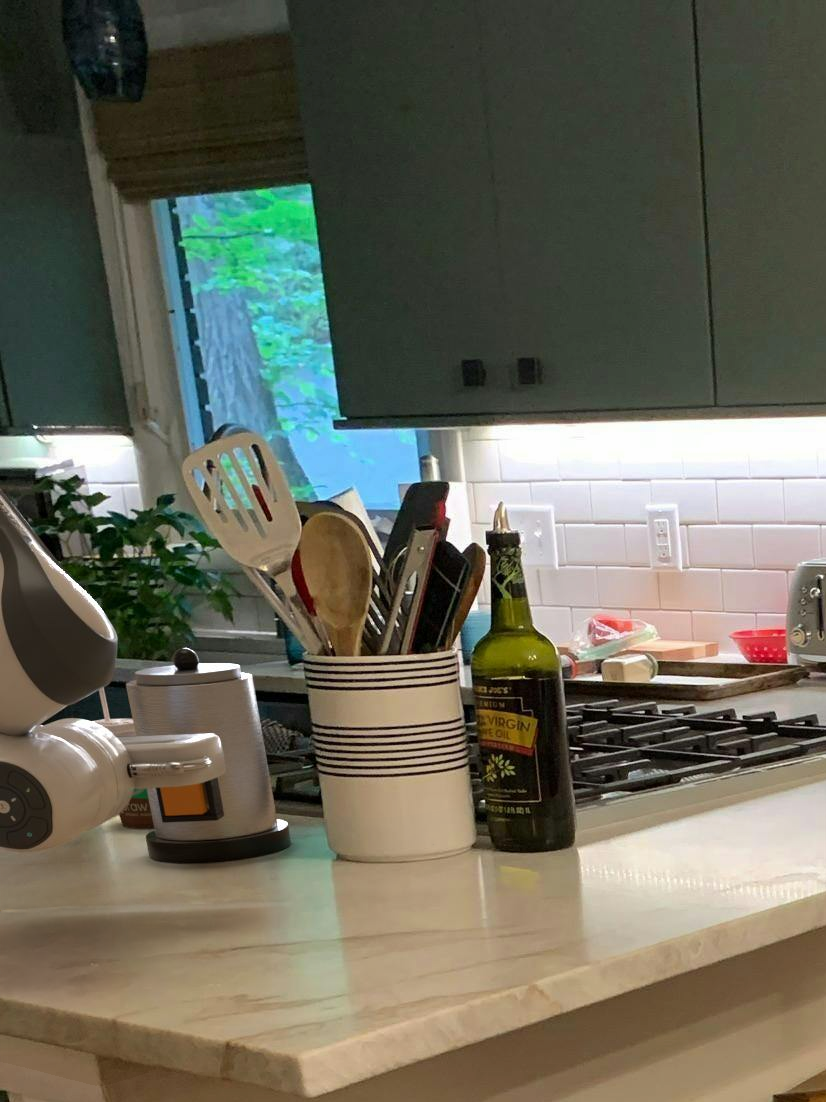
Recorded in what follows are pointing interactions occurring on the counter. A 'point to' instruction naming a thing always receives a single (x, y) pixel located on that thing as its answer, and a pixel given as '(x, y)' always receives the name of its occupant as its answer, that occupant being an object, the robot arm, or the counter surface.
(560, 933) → the counter surface
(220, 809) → the kettle
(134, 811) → the food container
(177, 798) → the switch
